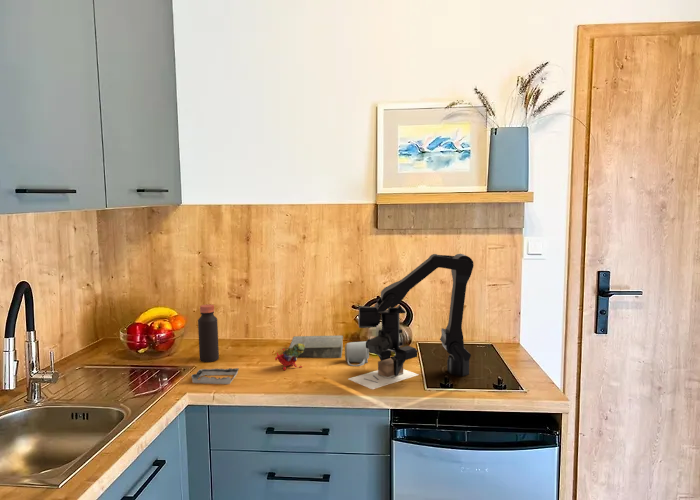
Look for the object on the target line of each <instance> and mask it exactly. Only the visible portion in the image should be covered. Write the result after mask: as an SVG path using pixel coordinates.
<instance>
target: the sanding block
mask: <svg viewBox="0 0 700 500" xmlns="http://www.w3.org/2000/svg"><path fill="white" fill-rule="evenodd" d="M403 369H404V365H403V366H402V368H401V370H400V372H399V374H398V375H401V374H403ZM377 370H378V375H379V376H382V377H384V378H387V379H388V378H391V377H395V374H394V362H393V360H392V359H391V358H389V359H386V360H382V361H381V360H379V361H377Z"/></svg>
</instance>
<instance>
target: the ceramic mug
mask: <svg viewBox="0 0 700 500" xmlns="http://www.w3.org/2000/svg"><path fill="white" fill-rule="evenodd" d="M366 342H367V340H366V341H352V342H351V341H350V342H347V343H345V345H344V360H345V362H347V365H348V366H350V367H361V366H364V365H365V364H367V363H368V362H369V361H368V359H370V352H369V349H368V348H366ZM351 363H359V364H351Z"/></svg>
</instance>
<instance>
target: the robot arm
mask: <svg viewBox="0 0 700 500" xmlns="http://www.w3.org/2000/svg"><path fill="white" fill-rule="evenodd" d="M438 268H440V269H447V270H450V272H451V276H452V286H451V287H452V289H451V296H450V297H451V298H450V307H449V315H448V322H447V326H446V327H445V328H441V330H440V331H441V336H440V339H439V341H441V345H442V347H443V348H444V350H446V352H447V353H448V354H449V355H448V356H447V357H448V358H447V363H446V364H447V366H446V369H447V372H448V373H449V374H450V375H452V376H457V377H458V376H459V377H465V376H467V375H470V358H471V357H472V354H471V353H470V352H469V351H468V350H467V349H466V347H465V342H464V341H465V340H464V339H465V338H464V333H463V328H462V327H463V326H462V325H463V319H464V308H465V301H466V300H465V299H466V293H467V292H466V291H467V285H468V282H469V280H470V278H471V277H472V276H471V275H472V274H473V269H474V260H472V257H470V256H469V255H466V254H463V253H457V254H455V255H447V254H445V255H444V254H437V253H433V254H431V255H429V257H428V258H427V259H426V260H424V261H423V262H422V263H420V264H419V265H418V266H417V267H416V268H414V269H413V270H412V271H410V272H409V273H408V274H407V275H406V276H404V277H402V279H399V280H398V281H396V282H393V283H391V284H389V285H386V286H385V287H384V288H383V289H382V290H381V291H380V297H379V298H378V300H377V301H376V303H375V304H374V306H363V305H362V306H361V305H360V306H358V315H357V317H358V321H357V322H358V328H359V329H362V328H365V329H367V328H377V326H379V325H380V324H381V328H380V329H379V330H378V331H377V332H378V334H377V336H375V337H372V338H368V339H367V340H366V341H367V342H366V348H368V349H369V354H374V355H376V356H378V357H379V361H382V360H386V359H389V358H391V359H392V360H393V362H394V374H395V376H398V374H399V372H400V370H401V368H402V366H403V367H404V364H405V361H408V360H411V359H414V358H417V357H418V350H417V348H415V347H413V346H409V345H405V346H403V341H400V340H401V338H400V336H401V334H402V333H403V329H401V328H400V314H405V313H406V310H405V309H404V308H403V307H402V305H401V304H400V303H401V302H402V301H403V299H405V297H406V295H407V294H408V293H409V292H410V291H411V290H412V289H413V288H415V287H416V286H417V285H418V284H419V283H421V282H422V281H423V280H424V279H426V278H427V277H428V276H429V275H431V274H432V273H433V272H434V271H436V270H437V269H438ZM392 353H394V355H393V356H391V355H392Z"/></svg>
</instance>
